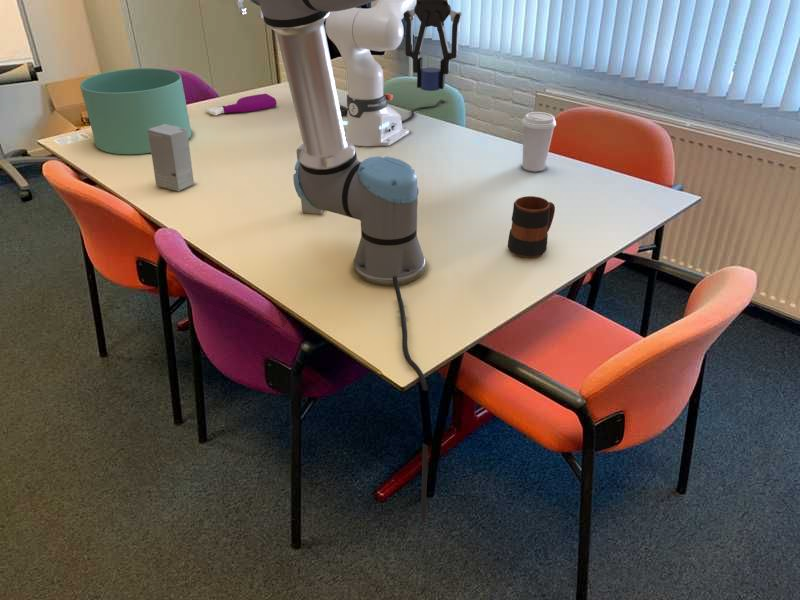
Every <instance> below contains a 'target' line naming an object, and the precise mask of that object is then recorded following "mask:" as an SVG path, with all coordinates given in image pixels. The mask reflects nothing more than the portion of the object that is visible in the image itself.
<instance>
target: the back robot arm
mask: <svg viewBox="0 0 800 600" xmlns="http://www.w3.org/2000/svg"><path fill="white" fill-rule="evenodd" d="M234 1H235V2H234V3H235V4H236V7H237V9H238V12H239V13H238V14H239V15H243V16H245V15H247V8H246V7H245V6H244V0H234ZM245 1H247V2H251V1H250V0H245ZM416 2H417V0H376V1H373V2H370V8H362V7H355V8H351V9H347V10H342V11H334V12H330V14H329V15H328V17H327V18H326V20H325V23H324V28H325V33H326V36H327V37H328V39H329V40H330V41H331V42H332V43H333V44H334V46H336V48H337V51H338V52H339V54H340V56H341V59H342V61H343V63H344V67H345V72H346V83H347V95H346V108H348V111H347V115H346V120H345V121H344V120H342V121H343V126H346V128H345V129H344V132H345V137H346V139H347V140H349V141H350V142H352V143H353V144H354V146H358V147H377V146H379V147H380V146H381V147H382V146H383V147H388V146H391V145H392V144H394V143H396V142H398V141H400V139H403V138H404V137H405V136H407V135H408V134H410V129H409V128H407V127H405V126H404V125H403V123H406V122H409V121H410V120H411V119H412V118H414V116H415V113H414V112H415V111H418V110H425V109H432V108H433V109H434V108H436V107H438V105H440V104H441V103H443V104H445V103H446V102H445V100H444V99H440V100H438V101H437V103H435V104H433V105H429V106H428V105H427V106H419V107H415V108H413V109H411V115H410V116H409V117H408V118H405V119H404V120H403V119H402V116H401V114H400V113H399V112H398V111H396V110H395V109H393V108H392V107H391V106H390V105H388V101H392V100H393V97H394V95H393V94H391V93H384V70H383V68H382V66H381V65H380V64H379V62H378V61H377V60H375V58H374V57H373V55H372V53H371V51H374V52H390V51H395V50H396V49H398V48H399V46H400V45H401V43H402V42H403V39H404V34H405V30H404V24H403V22H402V20H403V19H404V15H403V14H404V12H406V11H407V10H409V11H410V10H413V9H414V8H415V6H416ZM257 15H258V16H257V17H258V18H261V19H264V18H263V14H262V10H261V7H260V6H259V11H257Z"/></svg>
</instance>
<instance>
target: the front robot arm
mask: <svg viewBox="0 0 800 600" xmlns="http://www.w3.org/2000/svg"><path fill="white" fill-rule="evenodd" d="M373 1H376V0H250V1H249V2H251V3H253V4H254V5H255V6H258V7H259V8H260V7H261V10H262V14H263V18H262V19H263V22H264V25H266V27H268V28H269V29H271V30H272V31H274V32H275V34H276V38H277V42H278V46H279V50H280V54H281V59H282V62H283V66H284V70H285V74H286V79H287V83H288V86H289V91H290V95H291V99H292V102H293V103H292V104H293V107H294V112H295V116H296V120H297V123H298V128H299V133H300V137H301V141H302V144H304V148H303V150H302V151H301V152H300V155H299V159H298V161H296V163H295V165H294V170H295V173H293V176H292V179H293V186H294V189H295V192H296V194H297V196H298V198H299V199H300V201H301V200H302V201H303V202H305V203H306V204H308V205H310V206H313V207H315V208H316V209H321V210H323V211H325V212H328V213H329V212H330V213H334V214H337V215H340V216H344V217H348V218H351V219H353V220H354V219H355V220H357V221H358V220H359V221H360V239H359V242H358V247H357V249H356V252H355V256H354V259H353V270H354V273H355V275H356V276H357V277H358V278H359V279H360V280H362V281H364V282H366V283H369V284H370V285H371V284H372V285H376V286H382V287H394V291H395V295H396V299H397V303H398V304H397V305H398V308H399V315H400V322H401V335H402V336H401V337H402V339H401V344H402V345H401V346H402V352H403V353H402V354H403V356H404V359H405V361H406V362H407V364H408V365H409V367H411V368H412V369H413V371H414V372H415V373H416V375H417V377H418V379H419V382H420V385H421V390H422V391H424V392H425V391H426V392H427V390H428V384H427V380H426V378H425V375H424V373H423V371H422V369H421V368H420V367H419V366H418V364H416V363H415V362H414V360H413V359H412V357H411V356H410V353H409V348H408V328H407V327H408V326H407V318H406V312H405V311H406V310H405V306H404V301H403V297H402V293H401V290H400V289H401V288H400V286H402V285H406V284H410V283H413V282H415V281H417V280H418V279H420V278H421V276H423V274H424V273H425V270H426V258H425V255H424V252H423V250H422V247H421V244H420V241H419V238H418V202H419V201H418V198H419V197H418V196H419V187H418V185H419V184H418V175H417V173H416V171H415V169H414V168H413V166H411V165H410V163H407V162H406V161H403V160H401V159H398V158H395V157H391V156H384V157H382V156H379V155H378V156H370V157H367V158H364V159H363V160H362V161H359V160H358V154H357V151H356V145H354V144H353V143H352V142H350V141H349V140H347V139H346V137H345V136H346V135H345V127H344V126H345V125H343V121H344V120H343V117H342V115H341V111H340V106H339V105H340V102H339V96H338V95H339V94H338V91H337V90H338V89H337V86H336V81H335V80H336V79H335V75H334V70H333V64H332V60H331V55H330V49H329V44H328V38H327V33H326V27H325V22H326V19H327V17H328V15H329V14H330V12H334V11H342V10H347V9H351V8H359V7H361V6H364V5H367V4H371V2H373ZM403 15H404V18H403V19H404V22H405V56H406V57H409V58H411V59H412V71H413V74H416V88H417V89H418V88H419V89H421V88H420V87H421V69H423V59H424V58H423V57H420V56H421V51H422V47H423V43H424V40H425V36H426V32H427V28H429V27H434V28H436V30H437V34H438V38H439V42H440V48H441V52H442V58H441V60H440V67H439V69H440V89H439V90H444V88H445V81H446V75H449V74H450V65H451V63H450V61H451V60H453V59H456V58H457V56H458V53H459V32H460V31H459V29H460V21H461V18H462V16H463V15H462V12H461V11H458V12H457V11H455V10H454V9H453V10H452V7H451V6H450V0H417V2H416V5H415V6H414V7H413V8H412V9H411V10H410V11H409V10H407V11H406V12H404V14H403ZM415 16H416V17H417V18H418V20H419V22H420V25H419V30H418V34H417V38H416V42H415V46H414V50H413V41H414V40H413V39H414V38H413V36H414V35H413V34H414V32H413V31H414V21H413V20H414V19H415ZM449 16H450V22H452V25H451V26H452V27H451V50H450V48H449V44H448V43H449V42H448V38H447V33H446V27H445V21H446V20H447V19H448V17H449ZM428 456H429V446H428V445H427V444H425V443H424V442H422V459H421V460H422V463H421V464H422V465H421V466H422V467H421V499H420V520H421V521H425V520H426V519H427V492H428V491H427V490H428V489H427V488H428V487H427V485H428V465H429V464H428V463H429V457H428Z"/></svg>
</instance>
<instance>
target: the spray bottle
mask: <svg viewBox="0 0 800 600" xmlns="http://www.w3.org/2000/svg"><path fill="white" fill-rule="evenodd" d="M276 106H277V99H276V98H275V97H274V96H271V95H270V94H268V93H260V94H255V95H248V96H243V97H241V98H239V99H237V101H236V103H232V104H228V105H222V106H216V107H205V108H204V110H205V112H206V113H209V114H210V115H213V116H217V115H220V114H227V113H228V114H229V113H250V112H251V113H252V112H256V111H262V110H266V109H271V108H275V107H276Z"/></svg>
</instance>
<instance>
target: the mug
mask: <svg viewBox="0 0 800 600" xmlns="http://www.w3.org/2000/svg"><path fill="white" fill-rule="evenodd" d="M555 213H556V207H555V204H554V203H553V202H551V201H548V200H547V199H546V198H543V197H539V196H531V195H528V196H527V195H526V196H521V197H518V198H517V199H515V201H514V202H513V208H512V213H511V226H510V227H511V228H510V230H509V232H508V233H509V234H508V240H507V248H508V250H509V252H510V253H511V254H512V255H513V256H515V257H518V258H521V259H528V260H529V259H531V260H533V259H537V258H540V257H542V256H543V255H544V254H545V253H546V251H547V247H548V240H549V239H548V238H549V235H548V233H549V231H550V229H551V226H552V224H553V220H554V216H555Z"/></svg>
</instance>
